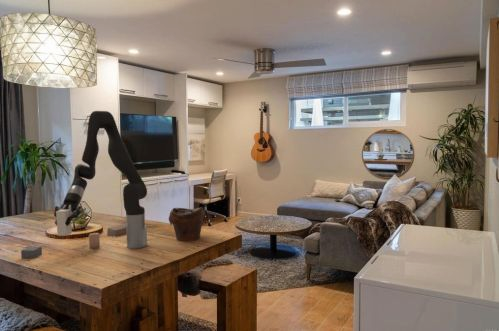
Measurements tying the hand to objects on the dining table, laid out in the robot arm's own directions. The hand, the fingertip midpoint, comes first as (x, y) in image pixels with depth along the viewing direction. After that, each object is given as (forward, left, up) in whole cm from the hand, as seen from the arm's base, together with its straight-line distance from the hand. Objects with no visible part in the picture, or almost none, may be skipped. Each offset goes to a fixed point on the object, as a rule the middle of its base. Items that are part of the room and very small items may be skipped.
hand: (61, 224), depth 173 cm
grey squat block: (+13, +5, -14) cm, 20 cm away
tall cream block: (0, -2, -5) cm, 6 cm away
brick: (-13, -39, -15) cm, 44 cm away
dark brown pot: (-55, -29, -14) cm, 64 cm away
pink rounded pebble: (-11, -10, -14) cm, 20 cm away
